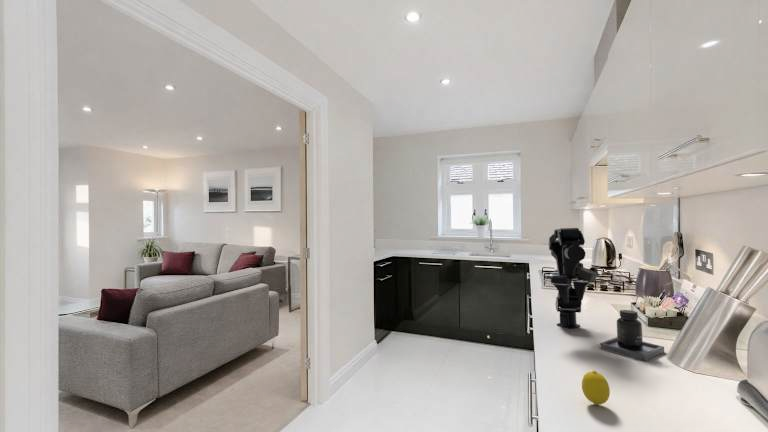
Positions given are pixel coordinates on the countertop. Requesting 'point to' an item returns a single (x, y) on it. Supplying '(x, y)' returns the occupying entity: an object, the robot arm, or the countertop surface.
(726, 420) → the countertop surface
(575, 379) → the countertop surface
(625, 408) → the countertop surface
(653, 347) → the base plate
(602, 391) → the lemon
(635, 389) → the countertop surface
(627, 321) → the supplement bottle
